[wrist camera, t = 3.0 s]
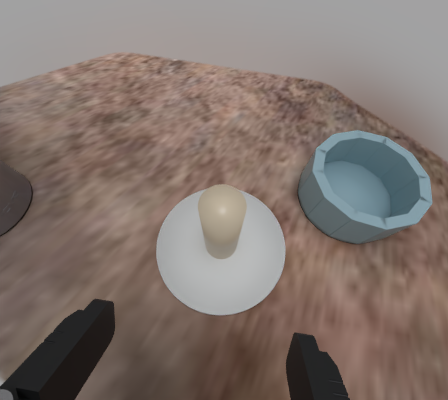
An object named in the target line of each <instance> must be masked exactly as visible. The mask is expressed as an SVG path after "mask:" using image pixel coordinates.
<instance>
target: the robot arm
mask: <svg viewBox="0 0 448 400" xmlns="http://www.w3.org/2000/svg"><path fill="white" fill-rule="evenodd" d="M31 195H32V192H31V186H30V183H29V181H28V180H27V179H26V178H25V177H24V176H23V175H21V174H20V173H19V172H17V171H16V170H14V169H13V168H11V167H10V166H9V165H7V164H6V163H4V162H3V161H1V160H0V235H2V234H3V233H5V232H6V231H8V230H9V229H10V228H11V227H13V226H14V225H15V224H16V223H17V222H18V221H19V220H20V218H21V217H22V216H23V214H24V213H25V211H26V210H27V208H28V206H29V203H30V200H31ZM114 331H115V316H114V303H113V302H112V301H106V300H100V299H94V300H93V301H92V302H91V303H90V304H89V305H88V306H87V307H86V308H85V309H84V311H83V310H77V311H76V312H74V313H73V314H71V315H70V316H68V317H67V318H65V319H64V320H63V321H62V322H61V323H60V324H59V325H58V326H57V327H56V328H55V329H54V331H53V333H51V334H50V335H49V336H48V337H47V338H46V339H45V340H44V342H43V343H41V344H40V345H39V346H38V347H37V349H36V350H35V351H34V352H33V353H32V354H31V355H30V356H29V357H28V358H27V359H26V360H25V361H24V362H23V363H22V364H21V365H20V367H19V368H18V369H17V370H16V371H15V372H14V373H13V374H12V375H11V376H10V377H9V378H8V379H7V380H6V381H5V382H4V383H3V384H2V385H1V386H0V400H75V398H76V396H77V395H78V393H79V392H80V390H81V388H82V387H83V385H84V384H85V382H86V380H87V379H88V377H89V376H90V374H91V372H92V371H93V369H94V368H95V366H96V364H97V363H98V361H99V360H100V358H101V357H102V355H103V353H104V352H105V350H106V349H107V347H108V345H109V344H110V342H111V340H112V338H113V335H114ZM286 373H287V380H288V386H289V392H290V397H291V400H350V398H348V393H347V391H346V388H345V386H344V385H343V380H342V378H341V375H340V373H339V370H338V367H337V365H336V364H335V363H334V361H333V360H332V359H331V357H330V356H329V355H328V353H327V352H321V351H319V349H318V346H317V343H316V340H315V338H314V336H313V335H307V334H301V333H294V334H293V338H292V341H291V345H290V348H289V352H288V355H287V360H286Z"/></svg>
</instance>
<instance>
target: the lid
mask: <svg viewBox="0 0 448 400" xmlns="http://www.w3.org/2000/svg"><path fill="white" fill-rule="evenodd" d="M156 256H157V263H158V267H159V271H160V274H161V276H162V278H163V281H164V282H165V284H166V286H167V287H168V289H169V290H170V291H171V292H172V294H173V295H174V296H175V297H176V298H177V299H179V300H180V301H181V302H182V303H184V304H185V305H187V306H188V307H190V308H192V309H194V310H197V311H199V312H203V313H206V314H212V315H230V314H236V313H239V312H242V311H245V310H247V309H249V308H251V307H253V306H255V305H256V304H258V303H259V302H261V301H262V300H263V299H264V298H265V297H266V296H267V295H268V294H269V293H270V292H271V291H272V289H273V288H274V287H275V285H276V283H277V282H278V280H279V278H280V275H281V273H282V270H283V266H284V261H285V241H284V236H283V233H282V230H281V227H280V225H279V223H278V221H277V219H276V217H275V216H274V215H273V213H272V212H271V211H270V209H269V208H268V207H267V206H266V205H265V204H263V203H262V202H261V201H260V200H258V199H257V198H255V197H254V196H252V195H250V194H248V193H246V192H243V191H240V190H238V189H236V188H235V187H232V186H230V185H224V184H220V185H215V186H212V187H210V188H208V189H205V190H202V191H199V192H196V193H194V194H192V195H190V196H188V197H186V198H185V199H183V200H182V201H181V202H180V203H178V204H177V205H176V206H175V207H174V208H173V209H172V210H171V212H170V213H169V214H168V216H167V217H166V219H165V221H164V222H163V224H162V227H161V229H160V232H159V235H158V239H157V247H156Z"/></svg>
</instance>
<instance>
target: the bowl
mask: <svg viewBox="0 0 448 400" xmlns="http://www.w3.org/2000/svg"><path fill="white" fill-rule="evenodd" d="M298 197H299V201H300V204H301V207H302V209H303V211H304V213H305V214H306V216H307V217H308V219H309V220H310V221H311V222H312V223H313V224H314V225H315V226H316V227H317V228H318V229H319V230H321V231H322V232H323V233H325V234H327V235H328V236H330V237H332V238H334V239H337V240H340V241H343V242H347V243H355V244H360V243H368V242H372V241H374V240H379V239H383V238H386V237H388V236H390V235H392V234H394V233H397V232H399V231H401V230H403V229H406V228H408V227H410V226H412V225H415V224H417V223H418V222H419V220H420V219H421V218H422V216H423V215H424V214H425V212H426V211H427V210H428V208H429V207H430V206H431V205H432V195H431V186H430V178H429V176H428V175H427V173H426V172H425V171H424V169H423V168H422V166H421V165H420V164H419V162H418V161H417V160H416V158H415V157H414V155H413V154H412V153H410V152H409V151H407V150H406V149H404V148H403V147H401V146H399V145H398V144H396V143H395V142H393V141H392V140H390V139H389V138H387V137H384V136H380V135H376V134H372V133H367V132H363V131H359V130H357V131H350V132H344V133H337V134H333V135H332V136H330V137H329V138H328V139H327V140H326V141H325V142H323V143H322V144H321V145H320V146H319V147H317V148H316V150H315V152H314V153H313V155H312V157H311V158H310V160H309V162H308V163H307V165H306V167H305V168H304V170H303V172H302V175H301V179H300V182H299V186H298Z"/></svg>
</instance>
